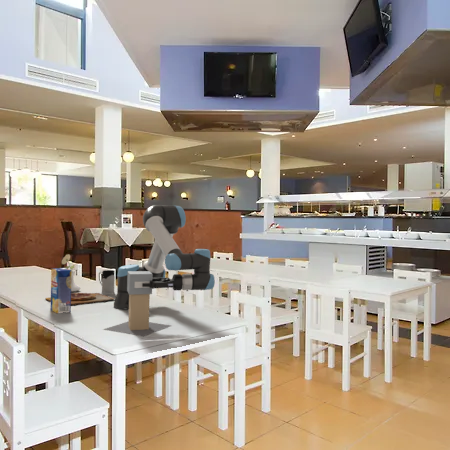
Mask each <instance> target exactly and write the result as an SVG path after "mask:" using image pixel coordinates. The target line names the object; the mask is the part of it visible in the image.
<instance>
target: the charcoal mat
mask: <svg viewBox="0 0 450 450" xmlns="http://www.w3.org/2000/svg"><path fill="white" fill-rule="evenodd" d="M170 327H172V325H170V324H162V323H158V322H157V323H156V322H150V321H149V329H144V330H130V329H129V326H128V321H125V322H121V323H119V324H115V325H112V326H109V327H106V328H103V329H102V330H103V331H110V332H116V333H121V334H127V335H132V336H137V337H138V336H139V337H147V336H149V335H151V334H154V333H157V332H159V331H161V330H165V329H168V328H170Z"/></svg>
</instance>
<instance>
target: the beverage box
mask: <svg viewBox="0 0 450 450" xmlns="http://www.w3.org/2000/svg"><path fill="white" fill-rule="evenodd" d="M50 269H51V275H50V298H51V302H50V309H49V310H50V311H52V312H54V313H55V314H64V313H63V312H66V313H71V311H72V309H71V306H72V305H71V293H72V292H71V276H72V270H73V269H70V268H68V269H66V268H65V267H59V268H57V267H56V268H50Z"/></svg>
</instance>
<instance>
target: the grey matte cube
mask: <svg viewBox="0 0 450 450" xmlns="http://www.w3.org/2000/svg"><path fill="white" fill-rule="evenodd" d="M152 276H153V274H152V273H151V272H150V271H128V277H127V291H128V293H129V295H132V294H150V295H152V294H153V289H152V288H150V287H149V288H134V286H135V282H144V281H149V282H150V280H151V281H152Z"/></svg>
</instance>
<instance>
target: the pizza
mask: <svg viewBox="0 0 450 450" xmlns="http://www.w3.org/2000/svg"><path fill="white" fill-rule="evenodd" d="M115 298H116V297H112V296H110V295H102V294H101V292H94V293H93V292H92V293H91V292H71V306H81V305H82V306H84V305H85V306H86V305H90V304H91V305H93V304H101V303H105V302H108V301H113V300H114V301H115ZM45 300H46V301H48V302H49V303H51V297H45Z"/></svg>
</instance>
